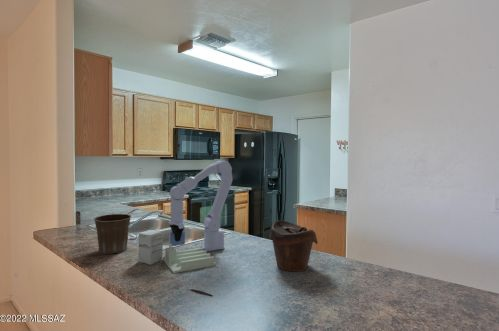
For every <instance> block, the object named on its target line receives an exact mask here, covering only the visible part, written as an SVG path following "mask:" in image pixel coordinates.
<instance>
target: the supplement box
mask: <svg viewBox="0 0 499 331" xmlns="http://www.w3.org/2000/svg"><path fill="white" fill-rule="evenodd" d="M163 234H164V232H163V231H161V230H160V231H159V230H153V229H148V230H145V231H141V232H139V233H138V252H137V254H138V255H137V256H138V263H142V264H147V265H154V264H156V263H159V262H161V261H163V244H164V243H163V240H164V236H163Z"/></svg>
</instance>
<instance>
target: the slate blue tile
mask: <svg viewBox="0 0 499 331" xmlns="http://www.w3.org/2000/svg"><path fill="white" fill-rule="evenodd" d="M185 240H186V232H185V231H184V230H183V232H182V235H181V240H180V241H175V236H174V233H172V232H169V233H168V245H169V244H172V247H177V246H183V245H185V244H186V241H185Z"/></svg>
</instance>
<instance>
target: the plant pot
mask: <svg viewBox="0 0 499 331" xmlns="http://www.w3.org/2000/svg"><path fill="white" fill-rule="evenodd" d="M131 218H132V215H131V214H127V213H126V214H125V213H113V214H111V213H110V214H104V215H100V216H96V217H94V218H93V221H94V223H95V224H94V225H95V228H96V235H97V244H98V251H99V254H103V255H114V254H116V253H117V254H119V253H123V252H125V251H126V250H127V249H128V239H129V227H130V224H131Z"/></svg>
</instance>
